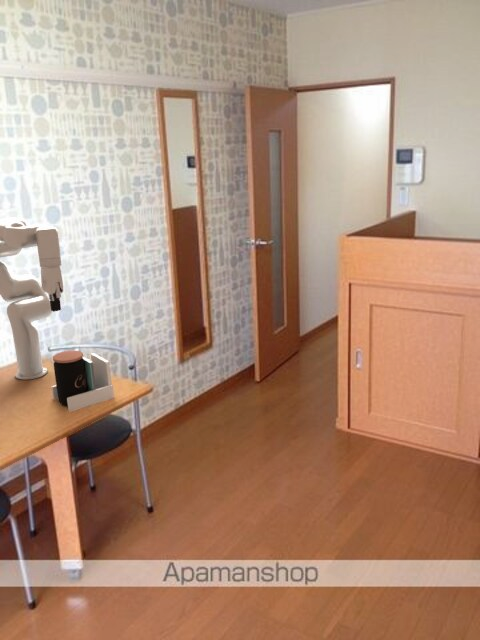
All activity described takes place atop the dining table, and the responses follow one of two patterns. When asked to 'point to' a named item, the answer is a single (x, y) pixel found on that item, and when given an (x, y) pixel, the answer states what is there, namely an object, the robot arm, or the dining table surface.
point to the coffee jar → (69, 375)
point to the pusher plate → (89, 374)
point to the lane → (95, 396)
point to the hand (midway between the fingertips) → (56, 310)
